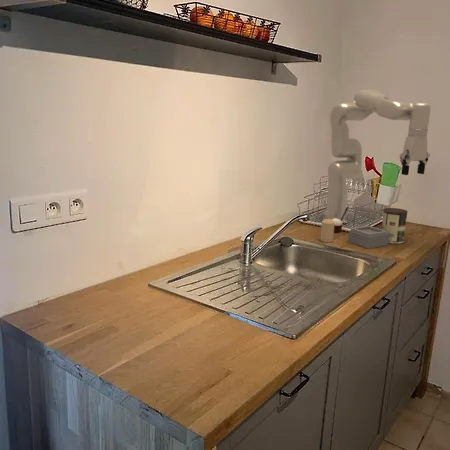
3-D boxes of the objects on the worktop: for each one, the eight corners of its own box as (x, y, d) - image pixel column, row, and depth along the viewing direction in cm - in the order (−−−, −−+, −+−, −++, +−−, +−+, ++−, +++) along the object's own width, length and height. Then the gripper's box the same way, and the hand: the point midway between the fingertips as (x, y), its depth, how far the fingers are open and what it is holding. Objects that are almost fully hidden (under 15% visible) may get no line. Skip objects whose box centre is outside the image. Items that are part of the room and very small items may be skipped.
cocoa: (324, 232, 238) (325, 207, 235) (328, 229, 244) (329, 205, 240) (344, 234, 234) (345, 209, 231) (348, 231, 239) (348, 206, 236)
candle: (326, 238, 226) (328, 216, 223) (335, 241, 222) (337, 219, 219) (317, 240, 223) (319, 218, 220) (327, 243, 218) (328, 220, 216)
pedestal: (347, 241, 222) (349, 228, 220) (367, 238, 228) (369, 225, 226) (367, 248, 212) (369, 234, 210) (387, 245, 217) (389, 231, 216)
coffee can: (399, 237, 230) (403, 208, 227) (407, 244, 220) (411, 213, 217) (377, 237, 231) (380, 207, 227) (383, 243, 221) (387, 212, 217)
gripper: (424, 132, 215) (419, 172, 219) (396, 133, 207) (391, 173, 211) (439, 134, 209) (433, 174, 213) (410, 134, 201) (405, 176, 205)
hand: (412, 174), depth 212 cm, fingers open, 9 cm apart
